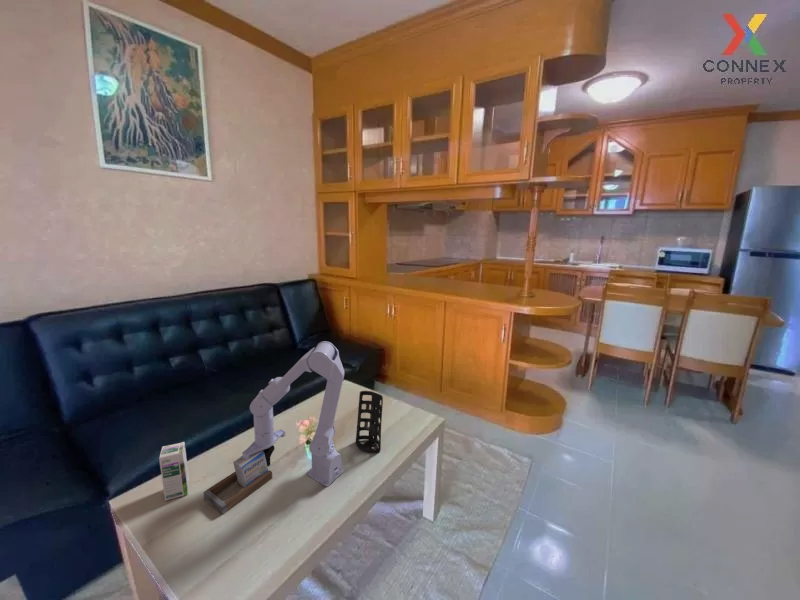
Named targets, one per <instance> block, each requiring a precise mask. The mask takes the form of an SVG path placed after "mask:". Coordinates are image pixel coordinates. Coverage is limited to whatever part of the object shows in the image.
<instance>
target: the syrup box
mask: <svg viewBox="0 0 800 600" xmlns="http://www.w3.org/2000/svg"><path fill="white" fill-rule="evenodd" d="M158 459H159V468H160V474H161V475H160V476H161V480H162V487H163V496H164V501H165V502H166V501H168V500H169V501H170V500H172V499H177V498H180V497H183V496H187V495H188V493H189V485H190V477H189V469H188V460H187V451H186V443H185V441H182V442H179V443H174V444H168V445H163V446H161V450H160V454H159V457H158Z"/></svg>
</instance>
